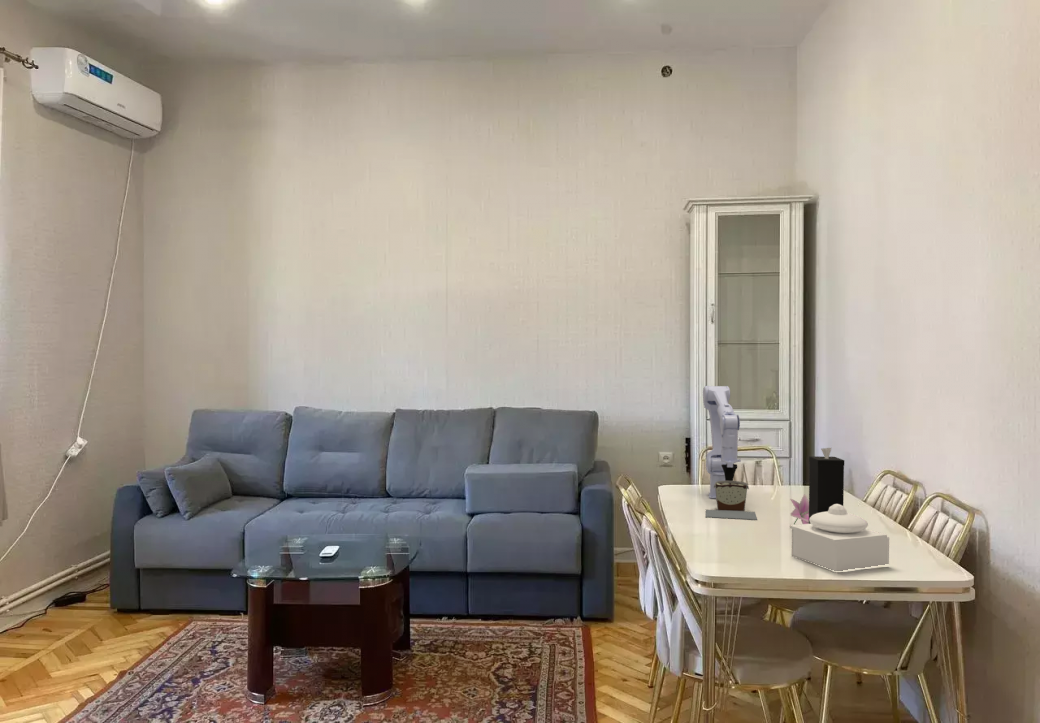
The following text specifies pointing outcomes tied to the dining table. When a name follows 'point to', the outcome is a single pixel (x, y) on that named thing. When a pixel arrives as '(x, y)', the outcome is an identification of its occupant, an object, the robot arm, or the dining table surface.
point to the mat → (731, 514)
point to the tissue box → (825, 482)
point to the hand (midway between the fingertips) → (729, 484)
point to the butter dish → (839, 541)
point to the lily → (801, 510)
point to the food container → (731, 495)
